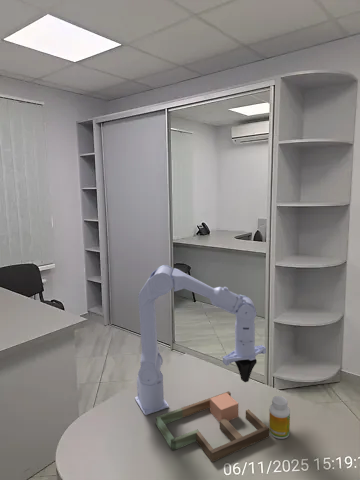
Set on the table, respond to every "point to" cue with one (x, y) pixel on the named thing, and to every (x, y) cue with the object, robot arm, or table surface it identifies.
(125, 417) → the table surface
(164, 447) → the table surface
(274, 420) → the supplement bottle
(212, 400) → the terracotta block
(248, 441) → the frame
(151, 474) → the table surface
